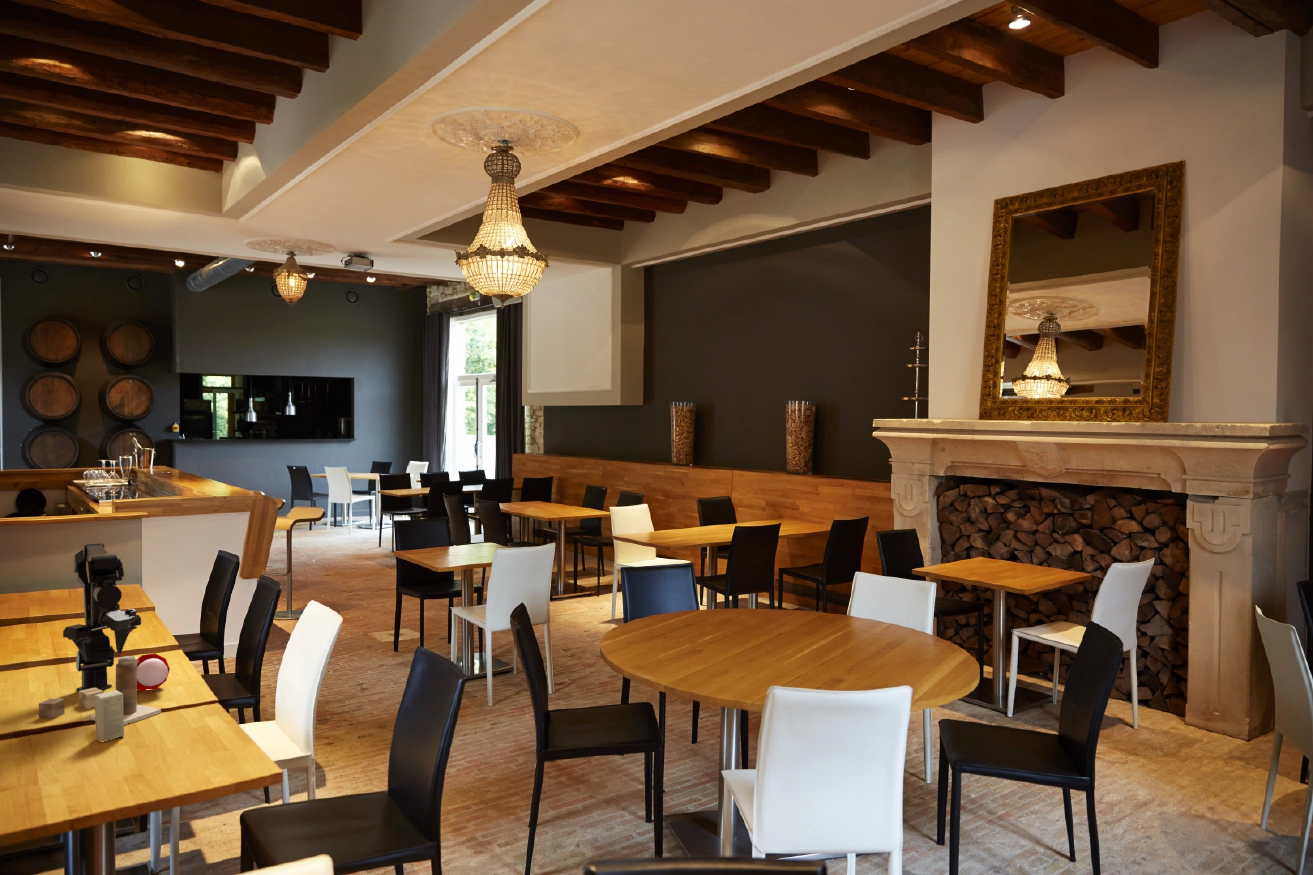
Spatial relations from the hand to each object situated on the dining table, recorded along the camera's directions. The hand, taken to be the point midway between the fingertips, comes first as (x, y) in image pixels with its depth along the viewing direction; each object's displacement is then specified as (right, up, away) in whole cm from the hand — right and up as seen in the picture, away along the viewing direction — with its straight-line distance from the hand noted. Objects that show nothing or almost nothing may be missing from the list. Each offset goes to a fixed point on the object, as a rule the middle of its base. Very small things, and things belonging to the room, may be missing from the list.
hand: (103, 656), depth 236 cm
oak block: (-3, -13, -1) cm, 13 cm away
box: (+18, -14, -25) cm, 34 cm away
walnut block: (-7, -13, -10) cm, 18 cm away
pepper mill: (+12, -12, -9) cm, 20 cm away
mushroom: (+10, -7, +8) cm, 14 cm away
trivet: (+12, -13, -10) cm, 20 cm away
